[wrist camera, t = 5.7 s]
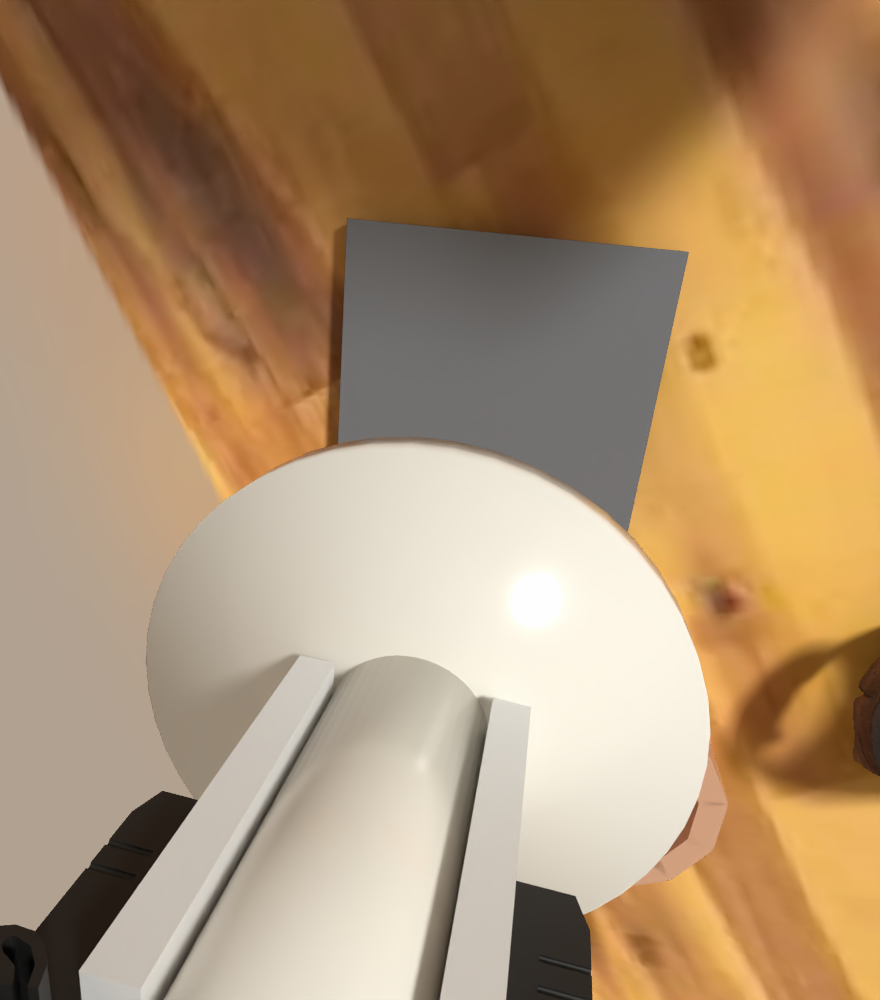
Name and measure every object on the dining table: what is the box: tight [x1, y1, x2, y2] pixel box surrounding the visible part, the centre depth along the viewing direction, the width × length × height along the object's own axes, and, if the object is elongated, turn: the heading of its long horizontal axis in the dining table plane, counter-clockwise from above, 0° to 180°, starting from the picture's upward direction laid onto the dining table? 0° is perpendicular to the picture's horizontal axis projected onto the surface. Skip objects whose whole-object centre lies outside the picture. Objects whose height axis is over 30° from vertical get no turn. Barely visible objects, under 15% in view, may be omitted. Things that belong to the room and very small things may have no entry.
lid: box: [146, 437, 710, 1000], centre depth 10 cm, size 12×12×9 cm
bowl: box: [632, 740, 728, 886], centre depth 33 cm, size 10×10×5 cm
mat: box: [338, 218, 689, 532], centre depth 30 cm, size 14×14×1 cm
